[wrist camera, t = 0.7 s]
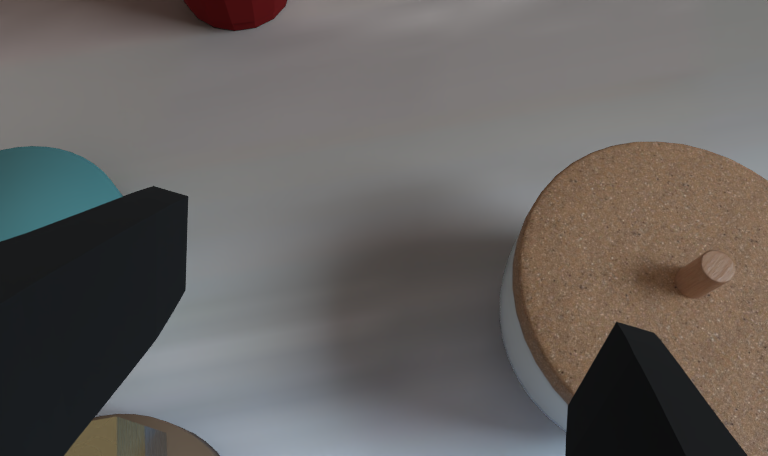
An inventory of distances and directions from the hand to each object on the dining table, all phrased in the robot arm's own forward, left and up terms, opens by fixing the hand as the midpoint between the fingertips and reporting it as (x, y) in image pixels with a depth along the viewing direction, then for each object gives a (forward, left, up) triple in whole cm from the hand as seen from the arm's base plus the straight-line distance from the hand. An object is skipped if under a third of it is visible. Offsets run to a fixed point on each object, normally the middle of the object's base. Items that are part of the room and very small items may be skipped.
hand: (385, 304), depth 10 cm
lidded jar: (+8, -6, -16) cm, 19 cm away
